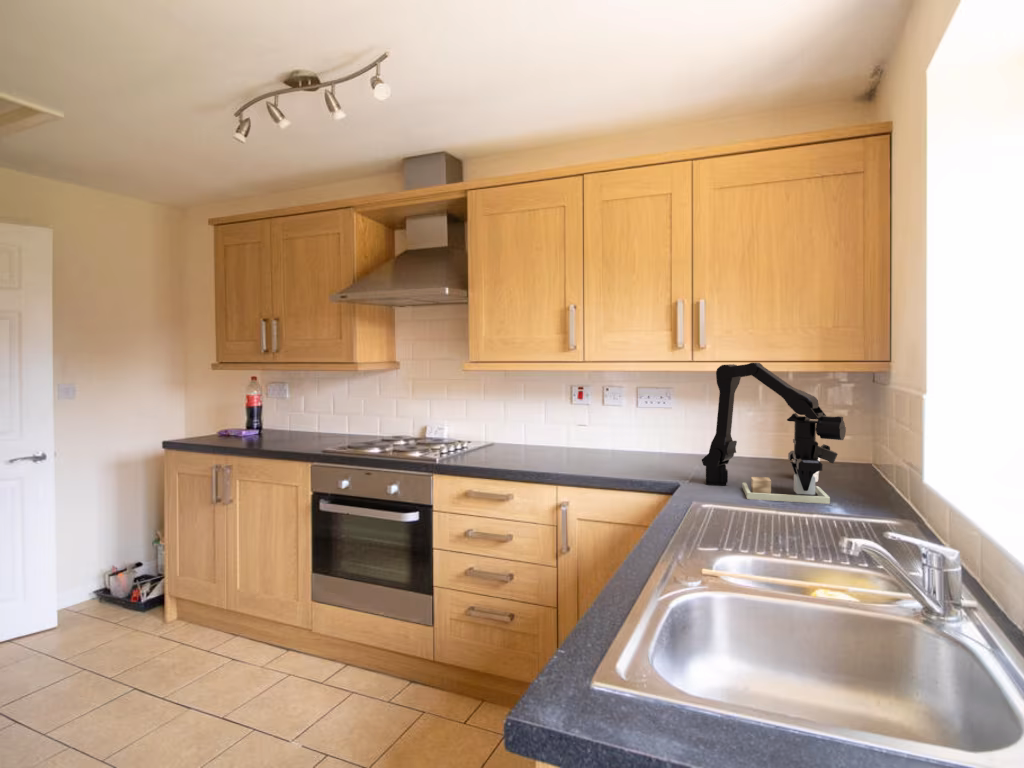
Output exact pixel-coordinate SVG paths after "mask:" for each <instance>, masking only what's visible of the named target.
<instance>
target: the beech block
mask: <svg viewBox="0 0 1024 768" xmlns="http://www.w3.org/2000/svg"><path fill="white" fill-rule="evenodd" d="M750 479H751V484H750V485H751V487H750V489H751V490H750V492H751V493H769V494H772V480H771V479H770V477H765V476H764V477H763V476H762V477H761V476H751V478H750Z"/></svg>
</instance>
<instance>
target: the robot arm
mask: <svg viewBox="0 0 1024 768" xmlns="http://www.w3.org/2000/svg"><path fill="white" fill-rule="evenodd" d="M715 376H716V377H715V378H716V384H717V388H718V390H719V392H718V394H719V395H718V404H717V405H718V407H717V416H716V430H715V435H714V436H713V439H712V441H711V443H710V446H709V450H708V453H707V454H706V455H705V456H704V457H703V458H702V459H701V462H702V466H703V467H705V479H704V482H705V485H709V486H710V485H712V486H727V483H728V481H729V479H728V478H729V475H728V474H729V473H728V472H729V470H728V469H727V465H728V464H729V462H730V460H731V459H733V457H734V455H735V454H736V453H737V450H736V449H737V448H736V447H737V442H738V441H737V440H734V439H733V437H732V427H733V426H732V425H733V415H734V404H735V403H734V402H735V393H736V391H737V389H738V387H739V385H740V382H741V378H744V377H750V376H752V377H753V378H755V379H756V380H757V381H759V382H760V383H762V384H763V385H764V386H766V387H767V388H769V389H770V390H771V391H773V392H774V393H775V394H777V395H779V396H780V397H781V398H782V399H783V400H784V401H785V403H786V404H787V406H788V407H789V408H790V409H792V411H793V413H792V414H791V416H789V417H788V418H787V419H786V421H788V422H794V429H793V430H794V431H793V433H794V435H793V439H792V443H793V450H790V452H788V455H787V459H788V460H789V461H790V466H791V467H792V470H793V472H794V474H798V477H799V479H800V482H801V485H802V487H803V490H804V491H808V489H809V485H810V482H811V479H812V476H813V474H815V473H816V472H818V471H819V472H822V471H823V465H824V464H823V463H822V462H821V460H824V461H827V462H829V463H830V464H834V463H835V462H836V459H837V456H838V453H837V452H836V451H833V450H831V446H829V445H827V444H824V443H823V444H822V445H819V443H818V441H817V439H816V436H818V437H819V438H820V439H823V440H826V439H827V440H833V441H834V440H835V441H844V440H845V439H846V438H845V437H846V432H847V427H846V423H845V421H844V416H841V415H840V416H831V415H830V416H828V415H827V414H825V412H824V411H823V410H822V408H821V407H820V405H819V404H820V403H819V400H818V398H817V397H816V396H815V395H812V394H810V393H808V392H806V391H804V390H801V389H798V388H796V387H793V386H792V385H791V384H789V383H788V382H786V381H785V380H783V379H782V378H780V377H779V376H777V375H776V374H775V373H773V372H772V371H771V370H769V369H768V368H767V367H765V366H763V364H762V363H760V362H756V361H755V362H750V363H747V364H740V365H739V364H738V365H737V364H734V363H733V364H721V365H720V366H719V367H717V368H716V372H715ZM818 457H819V458H820V461H819V460H817V459H818Z"/></svg>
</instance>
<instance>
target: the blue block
mask: <svg viewBox="0 0 1024 768" xmlns="http://www.w3.org/2000/svg"><path fill="white" fill-rule="evenodd" d="M815 479H816V478H815V477H814V476H812V479H811V482H810V485H809V489H808V491H804V490H803V487H802V485H801V482H800V479H799V477H798V474H795V473H793V491H794V492H795V495H810V496H816V493H815V486H816V482H815Z"/></svg>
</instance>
